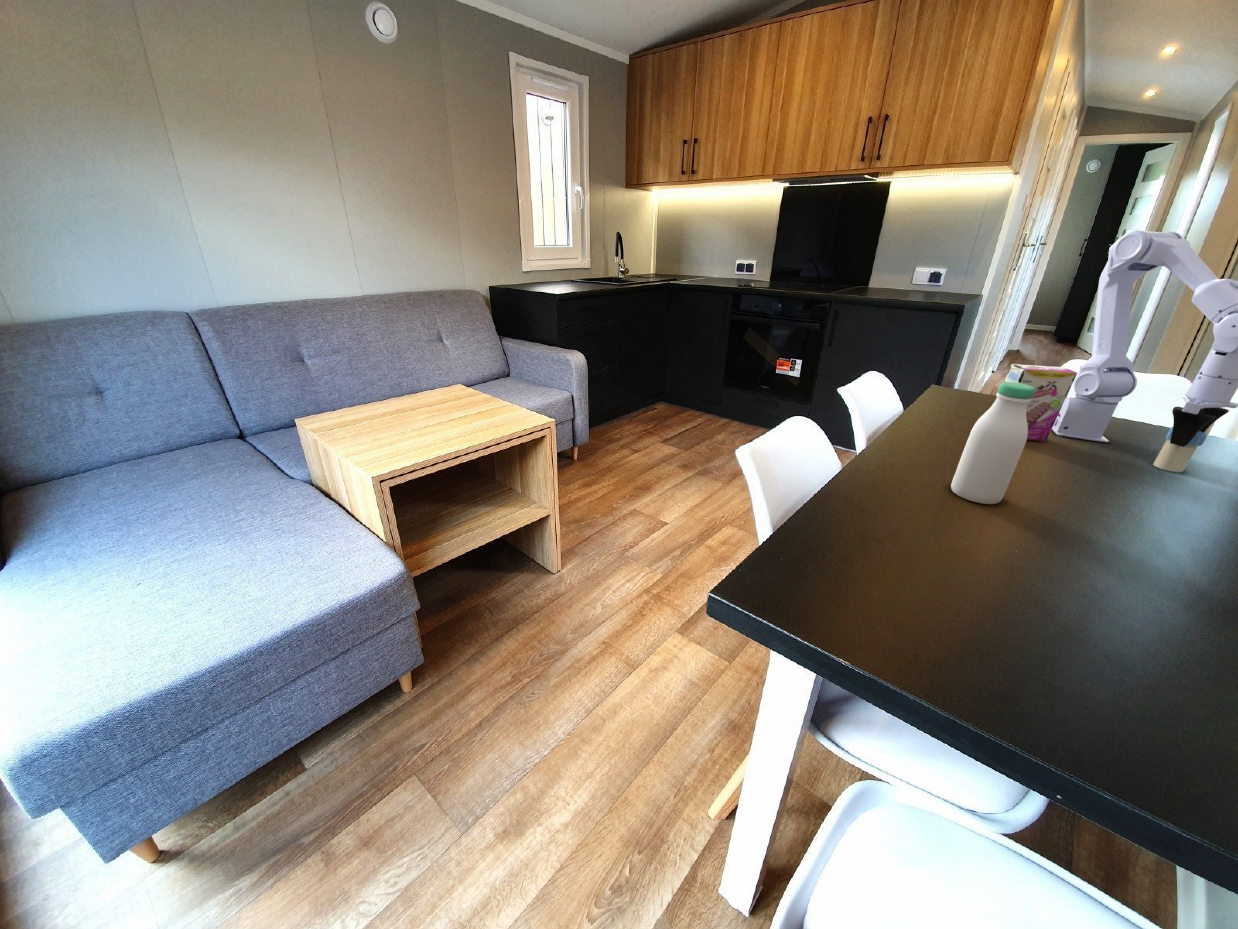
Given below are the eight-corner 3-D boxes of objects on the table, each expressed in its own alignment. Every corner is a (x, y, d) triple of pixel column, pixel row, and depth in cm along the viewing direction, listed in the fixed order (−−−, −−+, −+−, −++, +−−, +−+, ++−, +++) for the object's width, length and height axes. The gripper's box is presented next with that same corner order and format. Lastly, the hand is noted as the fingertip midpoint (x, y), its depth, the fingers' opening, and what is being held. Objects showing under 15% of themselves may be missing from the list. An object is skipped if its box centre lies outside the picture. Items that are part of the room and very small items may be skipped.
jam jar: (1159, 469, 99) (1178, 435, 96) (1148, 461, 103) (1167, 428, 100) (1187, 474, 98) (1208, 439, 94) (1176, 465, 101) (1195, 432, 98)
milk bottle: (1010, 508, 83) (1059, 394, 74) (960, 502, 84) (1003, 389, 75) (988, 487, 89) (1031, 380, 81) (942, 482, 91) (980, 376, 82)
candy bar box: (996, 439, 112) (1023, 368, 105) (983, 431, 116) (1009, 363, 109) (1048, 442, 111) (1079, 371, 104) (1033, 434, 115) (1062, 366, 108)
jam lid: (1205, 448, 95) (1212, 437, 94) (1170, 442, 97) (1176, 432, 96) (1195, 440, 99) (1201, 430, 98) (1161, 434, 101) (1167, 424, 100)
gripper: (1239, 385, 86) (1198, 456, 91) (1263, 377, 92) (1222, 443, 98) (1183, 375, 91) (1147, 442, 97) (1209, 368, 98) (1174, 432, 104)
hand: (1182, 442), depth 98 cm, fingers closed on jam lid, 5 cm apart
